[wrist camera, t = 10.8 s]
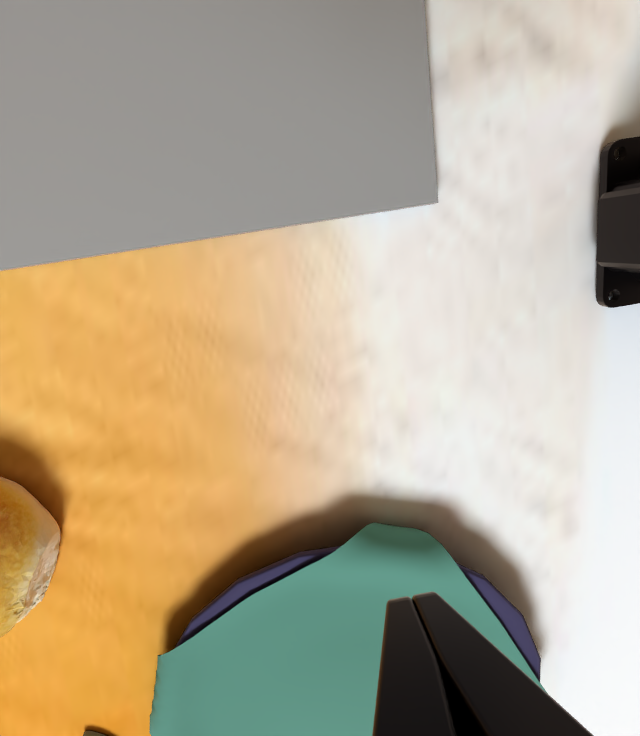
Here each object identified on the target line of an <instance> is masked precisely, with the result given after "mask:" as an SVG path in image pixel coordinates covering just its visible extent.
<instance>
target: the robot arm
mask: <svg viewBox="0 0 640 736" xmlns="http://www.w3.org/2000/svg"><path fill="white" fill-rule="evenodd" d="M615 150H617V151H618V153H619V156H618V159H617V160H616V159H615V158H614V152H615ZM611 291H613V296H612V298H611V299H610V300H609V298H608V296H609V293H610V292H611ZM596 299H597V302H598V303H599V304H600V305H602V306H605V307H613V308H614V307H620V306H626V305H632V304H638V303H640V137H633V138H626V139H620V140H617V141H614V142H611V143H609V144H607V145H606V146H605V147H604V149H603V150H602V152H601V157H600V186H599V201H598V227H597V284H596ZM372 736H593V735H592V734H591V733H590V732H589V731H588V730H587V729H586V728H585V727H583V726H582V725H581V724H580V723H579V722H578V721H577V720H576V719H575V718H574V717H572V716H571V715H570V714H569V713H568V712H567V711H566V710H565V709H564V708H563V707H561V706H560V705H559V704H558V703H557V702H556V701H555V700H554V699H553V698H552V697H551V696H549V695H548V694H547V693H546V692H545V691H544V690H543V689H542V688H541V687H540V686H538V685H537V684H536V683H535V682H534V681H533V680H532V679H531V678H530V677H529V676H527V675H526V674H525V673H524V672H523V671H522V670H521V669H520V668H519V667H518V666H516V665H515V664H514V663H513V662H512V661H511V660H510V659H509V658H508V657H507V656H506V655H504V654H503V653H502V652H501V651H500V650H499V649H498V648H497V647H496V646H495V645H493V644H492V643H491V642H490V641H489V640H488V639H487V638H486V637H485V636H484V635H482V634H481V633H480V632H479V631H478V630H477V629H476V628H475V627H474V626H473V625H471V624H470V623H469V622H468V621H467V620H466V619H465V618H464V617H463V616H462V615H460V614H459V613H458V612H457V611H456V610H455V609H454V608H453V607H452V606H451V605H450V604H448V603H447V602H446V601H445V600H444V599H443V598H442V597H441V596H440V595H439V594H437V593H436V592H426V593H421V594H416V595H414V596H413V597H412V599H411V598H410V597H408V596H405V597H400V598H395V599H390V600H388V602H387V605H386V613H385V623H384V632H383V641H382V650H381V660H380V669H379V678H378V687H377V696H376V706H375V715H374V724H373V733H372Z"/></svg>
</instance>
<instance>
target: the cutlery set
mask: <svg viewBox="0 0 640 736" xmlns="http://www.w3.org/2000/svg"><path fill="white" fill-rule="evenodd" d="M426 592H436V593H437V594H439V595H440V596H441V597H442V598H443V599H444V600H445V601H446V602H447V603H448V604H450V605H451V606H452V607H453V608H454V609H455V610H456V611H457V612H458V613H459V614H460V615H462V616H463V617H464V618H465V619H466V620H467V621H468V622H469V623H470V624H471V625H473V626H474V627H475V628H476V629H477V630H478V631H479V632H480V633H481V634H482V635H484V636H485V637H486V638H487V639H488V640H489V641H490V642H491V643H492V644H493V645H495V646H496V647H497V648H498V649H499V650H500V651H501V652H502V653H503V654H504V655H506V656H507V657H508V658H509V659H510V660H511V661H512V662H513V663H514V664H515V665H516V666H518V667H519V668H520V669H521V670H522V671H523V672H524V673H525V674H526V675H527V676H529V677H530V678H531V679H532V680H533V681H534V682H535V683H536V684H537V685H538V686H540V687H541V688H542V689H543V690H544V691H545V689H544V688H543V687H542V685H541V684H540V662H541V658H540V656H539V653H538V651H537V649H536V646H535V644H534V641H533V639H532V636H531V634H530V631H529V629H528V627H527V624H526V622H525V619H524V617H523V615H522V614H521V613H520V612H519V611H518V610H517V609H516V608H515V607H514V606H513V605H512V604H511V603H510V602H509V601H508V600H507V599H506V598H505V597H504V596H503V595H502V594H501V593H500V592H499V591H498V590H497V589H496V588H495V587H494V586H493V585H492V584H491V583H490V582H489V581H488V580H487V579H486V578H485V577H484V576H483V575H481V574H479V573H477V572H475V571H473V570H470V569H468V568H466V567H464V566H462V565H460V564H457V563H456V562H455V561H454V560H453V558H452V557H451V556H450V554H449V553H448V552H447V551H446V549H445V548H444V547H443V546H442V544H441V543H439V542H438V541H437V540H436V539H435V538H433V537H432V536H431V535H430V534H429V533H426V532H424V531H421V530H418V529H415V528H407V527H399V526H392V525H386V524H380V523H375V522H374V523H371V524H368V525H366V526H365V527H364V528H363V529H362V530H360V531H359V532H358V533H357V534H355V535H354V536H353V537H352V538H351V539H350V540H348V541H347V542H346V543H345V544H344V545H342V546H338V547H331V548H324V549H317V550H310V551H303V552H298V553H296V554H293V555H291V556H289V557H287V558H284V559H282V560H280V561H277V562H275V563H273V564H270V565H268V566H266V567H264V568H261V569H259V570H257V571H254V572H252V573H250V574H248V575H245V576H243V577H241V578H238V579H237V580H236V581H235V582H234V583H233V584H231V585H230V586H229V587H228V588H227V589H225V590H224V591H223V592H222V593H221V594H220V595H218V596H217V597H216V598H215V599H214V600H212V601H211V602H210V603H209V604H208V605H207V606H205V607H204V608H203V609H202V610H201V611H200V612H198V613H197V614H196V615H195V616H194V617H192V619H191V621H190V622H189V624H188V626H187V627H186V629H185V631H184V633H183V634H182V636H181V638H180V639H179V641H178V643H177V645H176V646H175V648H174V649H173V650H171V651H170V652H168V653H165V654H163V655H158V665H157V671H156V684H155V687H154V699H153V701H152V712H151V714H150V734H151V736H372V733H373V724H374V715H375V706H376V696H377V687H378V678H379V669H380V660H381V650H382V641H383V632H384V623H385V613H386V605H387V602H388V600H390V599H395V598H400V597H405V596H408V597H410V598H411V599H412V597H413V596H414V595H416V594H421V593H426ZM545 692H546V691H545ZM546 693H547V692H546ZM547 694H548V693H547ZM83 736H106V735H104V734H101V733H97V732H94V731H86V732H84V734H83Z"/></svg>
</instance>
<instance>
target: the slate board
mask: <svg viewBox="0 0 640 736" xmlns="http://www.w3.org/2000/svg"><path fill="white" fill-rule="evenodd" d="M435 203H438V194H437V179H436V164H435V150H434V135H433V120H432V106H431V91H430V76H429V61H428V47H427V32H426V17H425V3H424V0H0V271H3V270H10V269H16V268H23V267H29V266H36V265H42V264H49V263H55V262H62V261H68V260H75V259H81V258H87V257H94V256H100V255H107V254H113V253H120V252H126V251H133V250H139V249H146V248H152V247H159V246H165V245H171V244H178V243H184V242H191V241H197V240H204V239H210V238H217V237H223V236H230V235H236V234H243V233H249V232H255V231H262V230H268V229H275V228H281V227H288V226H294V225H301V224H307V223H314V222H320V221H326V220H333V219H339V218H346V217H352V216H359V215H365V214H372V213H378V212H385V211H391V210H398V209H404V208H410V207H417V206H423V205H430V204H435Z"/></svg>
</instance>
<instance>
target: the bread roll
mask: <svg viewBox="0 0 640 736" xmlns="http://www.w3.org/2000/svg"><path fill="white" fill-rule="evenodd" d="M59 542H60V528H59V526H58V524H57V522H56V521H55V519H54V518H53V516H52V515H51V514H50V513H49V512H48V510H47V509H46V508H44V507H43V506H42V505H41V503H40V502H39V501H38V500H37V499H36V498H35V497H33V496H32V495H31V494H30V493H29V492H28V491H27V490H26V489H25V488H24V487H22V486H21V485H19V484H17V483H16V482H14V481H11V480H8V479H6V478H3V477H0V637H2V636H4V635H5V634H6V633H8V632H9V631H10V630H11V629H12V628H13V627H14V625H15V624H16V623H17V622H19V621H21V620H22V619H23V618H24V617H25V616H26V615H27V614H28V613H29V612H30V610H32V609H33V608H34V607H35V606H36V605H37V604H38V603H39V602H40V601H42V599H43V598H44V595H45V592H46V591H47V588H48V586H49V583H50V580H51V577H52V575H53V572H54V570H55V566H56V562H57V555H58V552H59Z"/></svg>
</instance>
